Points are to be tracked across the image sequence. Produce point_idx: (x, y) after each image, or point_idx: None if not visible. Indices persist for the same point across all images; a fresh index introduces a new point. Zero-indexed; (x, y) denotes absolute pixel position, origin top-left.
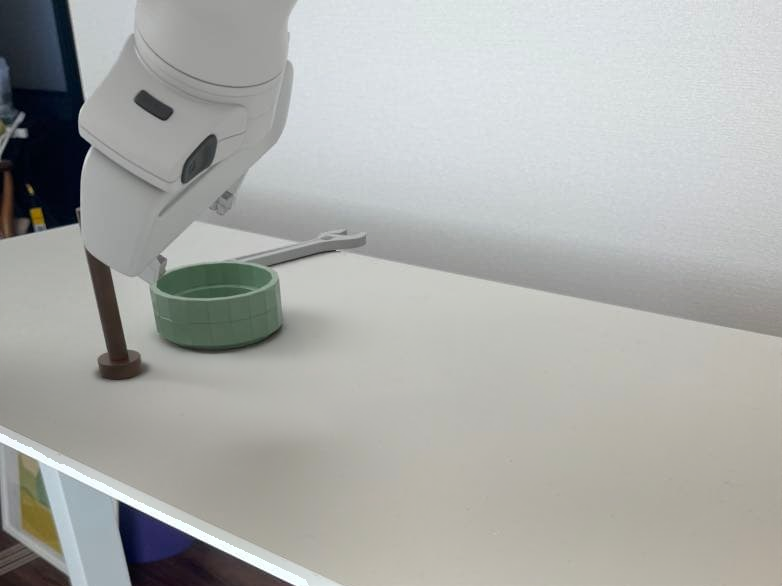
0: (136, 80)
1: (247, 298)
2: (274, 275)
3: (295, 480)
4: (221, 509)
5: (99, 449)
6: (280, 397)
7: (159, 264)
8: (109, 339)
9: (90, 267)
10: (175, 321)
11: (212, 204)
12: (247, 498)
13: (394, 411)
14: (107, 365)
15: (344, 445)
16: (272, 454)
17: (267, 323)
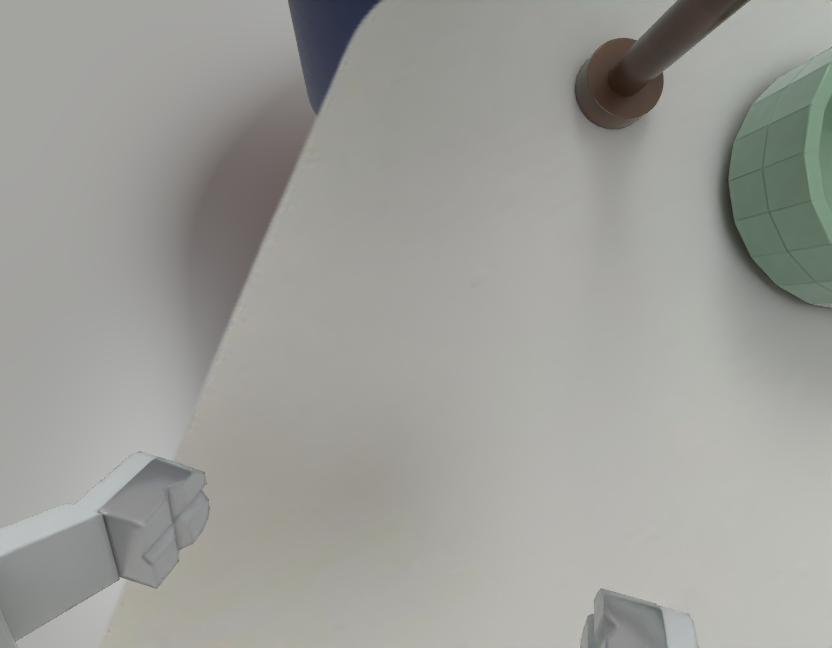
0: None
1: None
2: None
3: (309, 562)
4: None
5: (326, 208)
6: (577, 421)
7: (99, 587)
8: (631, 56)
9: None
10: (766, 134)
11: (594, 628)
12: (240, 513)
13: (571, 631)
14: (587, 75)
15: (436, 594)
16: (379, 493)
17: (830, 302)
